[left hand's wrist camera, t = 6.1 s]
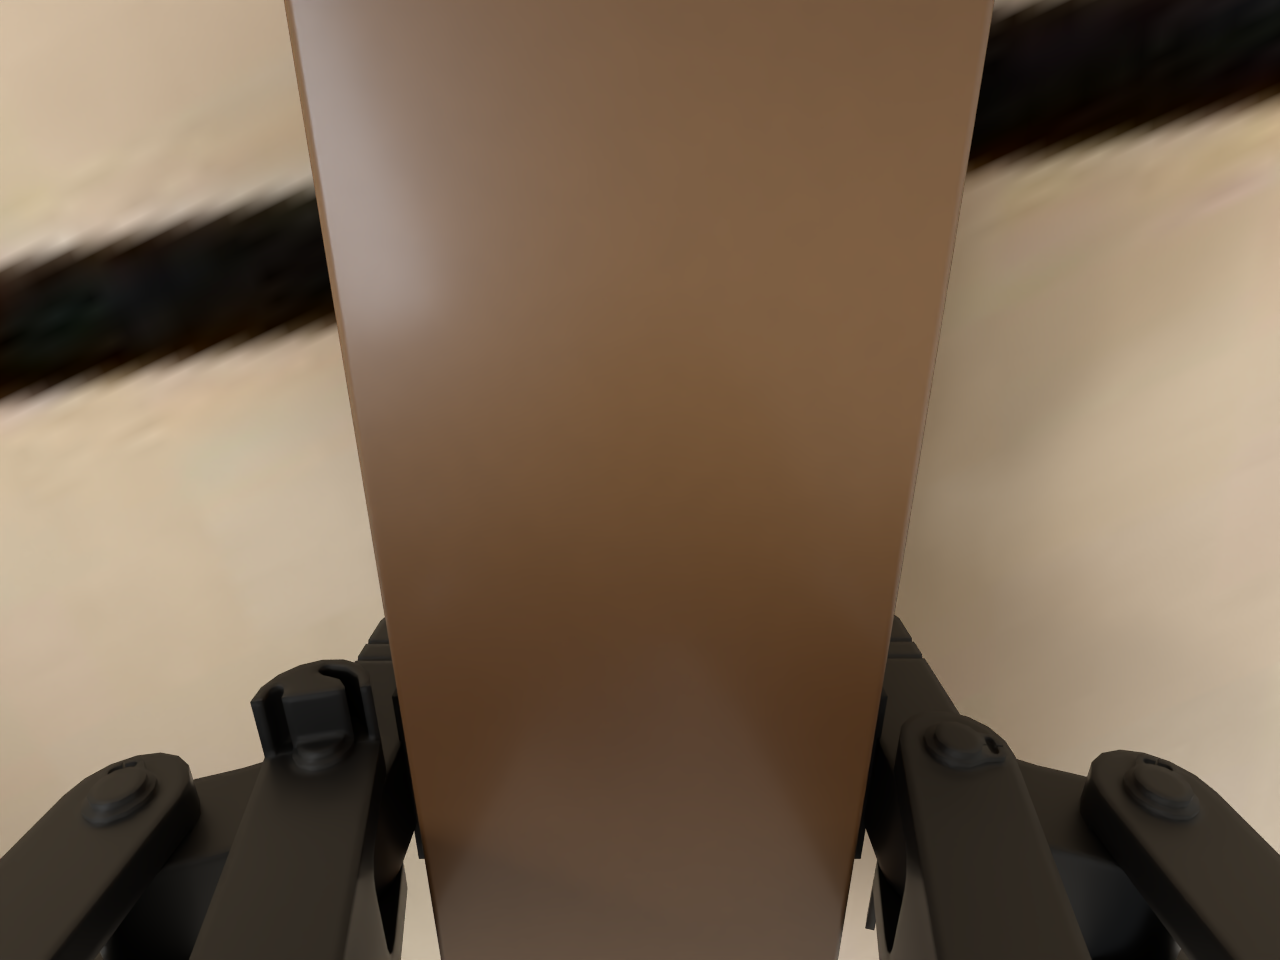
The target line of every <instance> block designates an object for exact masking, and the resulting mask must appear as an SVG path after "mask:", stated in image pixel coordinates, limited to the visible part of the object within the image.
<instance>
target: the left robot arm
mask: <svg viewBox="0 0 1280 960" xmlns="http://www.w3.org/2000/svg"><path fill="white" fill-rule="evenodd" d="M250 703H251V706H252V710H253V714H254V718H255V722H256V725H257V729H258V733H259V737H260V740H261V744H262V748H263V752H264V756H265V758H264V761H263V762H261V763H258V764H255V765H252V766H248V767H245V768H241V769H237V770H233V771H229V772H224V773H220V774H216V775H211V776H207V777H203V778H199V779H194V780H193V777H192V774H191V771H190V768H189V765H188V764H187V763H186V762H185V761H183V760H182V759H181V758H180V757H179V756H176V755H170V754H165V753H154V754H146V755H138V756H134V757H131V758H129V759H126V760H123V761H120V762H117V763H114V764H111V765H109V766H107V767H105V768H103V769H102V770H100V771H98V772H96V773H94V774H92V775H90V776H89V777H87V778H85V779H84V780H82V781H81V782H80V783H79V784H78V785H76V786H75V787H74V788H73V789H71V790H70V791H69V792H68V793H66V794H65V795H64V796H63V797H62V798H61V799H60V800H59V801H58V802H57V803H56V804H55V805H54V806H53V807H52V808H51V809H50V810H49V811H48V812H47V813H46V814H45V815H44V816H43V817H42V818H41V819H40V820H39V821H38V822H37V823H36V824H35V825H34V826H33V827H32V828H31V829H30V830H29V831H28V832H27V833H26V834H25V835H24V836H23V837H22V838H21V839H20V840H19V841H18V842H17V843H16V844H15V845H14V846H13V847H12V848H11V849H10V850H9V851H8V852H7V853H6V854H5V855H4V856H3V857H2V858H1V859H0V960H401V951H402V941H403V930H404V919H405V909H406V898H407V882H406V875H405V869H404V864H403V860H404V857H405V855H406V852H407V849H408V846H409V843H410V841H411V838H412V835H413V832H415V838H416V844H417V850H418V856H419V859H425V858H424V852H423V846H422V840H421V833H420V827H419V821H418V815H417V809H416V803H415V797H414V791H413V785H412V778H411V772H410V766H409V760H408V754H407V748H406V742H405V736H404V730H403V724H402V717H401V711H400V705H399V699H398V693H397V687H396V681H395V675H394V669H393V663H392V656H391V650H390V644H389V638H388V632H387V626H386V620H385V618H383V619H382V620H381V621H380V623H379V624H378V626H377V627H376V629H375V631H374V632H373V634H372V635H371V637H370V639H369V640H368V644H366V645H365V646H364V648H363V650H362V651H361V653H360V654H359V656H358V661H355V662H350V661H347V660H320V661H316V662H312V663H307V664H303V665H299V666H297V667H295V668H293V669H290V670H288V671H286V672H284V673H281V674H279V675H278V676H276V677H275V678H274V679H272V680H271V681H269V682H268V683H267V684H265V685H264V686H263V687H261V688H260V690H259V691H258V692H257V694H256V695H255V697H254V698H253V699H252V701H251V702H250ZM865 829H866V830H867V833H868V836H869V838H870V841H871V844H872V847H873V849H874V852H875V855H876V858H877V864H876V869H875V875H874V880H873V886H872V891H871V897H870V902H869V908H868V914H867V921H866V929H871V930H874V929H875V923H876V928H877V939H878V950H879V960H1280V855H1279V854H1278V853H1277V852H1276V851H1275V850H1274V849H1273V848H1272V847H1271V846H1270V845H1269V844H1268V843H1267V842H1266V841H1265V840H1264V839H1263V838H1262V837H1261V836H1260V835H1259V834H1258V833H1257V832H1256V831H1255V830H1254V829H1253V828H1252V827H1251V826H1250V825H1249V824H1248V823H1247V822H1246V821H1245V820H1244V819H1243V818H1242V817H1241V816H1240V815H1239V814H1238V813H1237V812H1236V811H1235V810H1234V809H1233V808H1232V807H1231V806H1230V805H1229V804H1228V803H1227V802H1226V801H1225V800H1224V799H1223V798H1222V797H1221V796H1220V795H1219V794H1218V793H1217V792H1216V791H1214V790H1213V789H1212V788H1211V787H1209V786H1208V785H1207V784H1206V783H1204V782H1203V781H1202V780H1201V779H1199V778H1198V777H1197V776H1196V775H1194V774H1192V773H1190V772H1188V771H1186V770H1185V769H1183V768H1181V767H1179V766H1177V765H1175V764H1173V763H1171V762H1170V761H1167V760H1164V759H1161V758H1158V757H1155V756H1152V755H1149V754H1146V753H1142V752H1134V751H1125V750H1116V751H1111V752H1105V753H1102V754H1100V755H1099V756H1098V757H1097V758H1096V759H1095V760H1094V761H1093V762H1092V763H1091V766H1090V770H1089V773H1088V776H1087V777H1085V776H1081V775H1076V774H1072V773H1068V772H1063V771H1059V770H1055V769H1051V768H1046V767H1042V766H1038V765H1034V764H1031V763H1028V762H1024V761H1021V760H1018V759H1016V757H1015V755H1014V754H1013V752H1012V751H1011V749H1010V748H1009V746H1008V745H1007V743H1006V741H1005V740H1003V739H1002V738H1001V737H1000V736H999V735H997V734H996V733H995V732H994V731H993V730H991V729H990V728H989V727H987V726H985V725H983V724H981V723H979V722H977V721H975V720H973V719H971V718H969V717H966V716H963V715H960V714H959V712H958V711H957V709H956V707H955V706H954V704H953V703H952V701H951V700H950V698H949V696H948V695H947V693H946V692H945V690H944V688H943V687H942V685H941V684H940V682H939V681H938V679H937V677H936V676H935V674H934V673H933V671H932V669H931V668H930V666H929V665H928V663H927V662H926V660H925V659H922V654H921V652H920V650H919V649H918V647H917V646H916V644H915V643H914V642H912V638H911V636H910V635H909V633H908V632H907V630H906V628H905V627H904V625H903V624H902V622H901V620H900V619H899V618H898V617H897V616H895V615H894V619H893V625H892V631H891V637H890V643H889V649H888V655H887V661H886V668H885V674H884V680H883V686H882V692H881V698H880V704H879V710H878V717H877V723H876V729H875V735H874V741H873V747H872V753H871V759H870V766H869V772H868V778H867V784H866V790H865V796H864V802H863V809H862V815H861V821H860V827H859V833H858V839H857V845H856V851H855V858H854V859H861V853H862V847H863V841H864V835H865Z"/></svg>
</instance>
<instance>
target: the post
mask: <svg viewBox="0 0 1280 960" xmlns="http://www.w3.org/2000/svg"><path fill="white" fill-rule="evenodd" d="M284 3H285V10H286V16H287V22H288V28H289V34H290V40H291V46H292V52H293V58H294V64H295V71H296V77H297V83H298V89H299V95H300V101H301V107H302V113H303V119H304V125H305V132H306V138H307V144H308V150H309V156H310V162H311V168H312V174H313V180H314V186H315V193H316V199H317V205H318V211H319V217H320V223H321V229H322V235H323V241H324V248H325V254H326V260H327V266H328V272H329V278H330V284H331V290H332V296H333V302H334V309H335V315H336V321H337V327H338V333H339V339H340V345H341V351H342V357H343V363H344V370H345V376H346V382H347V388H348V394H349V400H350V406H351V412H352V418H353V425H354V431H355V437H356V443H357V449H358V455H359V461H360V467H361V473H362V479H363V486H364V492H365V498H366V504H367V510H368V516H369V522H370V528H371V534H372V540H373V547H374V553H375V559H376V565H377V571H378V577H379V583H380V589H381V595H382V602H383V608H384V614H385V620H386V626H387V632H388V638H389V644H390V650H391V656H392V663H393V669H394V675H395V681H396V687H397V693H398V699H399V705H400V711H401V717H402V724H403V730H404V736H405V742H406V748H407V754H408V760H409V766H410V772H411V778H412V785H413V791H414V797H415V803H416V809H417V815H418V821H419V827H420V833H421V840H422V846H423V852H424V858H425V864H426V870H427V876H428V882H429V888H430V894H431V901H432V907H433V913H434V919H435V925H436V931H437V937H438V943H439V949H440V955H441V960H838V956H839V949H840V943H841V937H842V931H843V925H844V919H845V913H846V907H847V900H848V894H849V888H850V882H851V876H852V870H853V864H854V858H855V851H856V845H857V839H858V833H859V827H860V821H861V815H862V809H863V802H864V796H865V790H866V784H867V778H868V772H869V766H870V759H871V753H872V747H873V741H874V735H875V729H876V723H877V717H878V710H879V704H880V698H881V692H882V686H883V680H884V674H885V668H886V661H887V655H888V649H889V643H890V637H891V631H892V625H893V619H894V612H895V606H896V600H897V594H898V588H899V582H900V576H901V570H902V563H903V557H904V551H905V545H906V539H907V533H908V527H909V521H910V514H911V508H912V502H913V496H914V490H915V484H916V478H917V471H918V465H919V459H920V453H921V447H922V441H923V435H924V429H925V422H926V416H927V410H928V404H929V398H930V392H931V386H932V380H933V373H934V367H935V361H936V355H937V349H938V343H939V337H940V331H941V324H942V318H943V312H944V306H945V300H946V294H947V288H948V282H949V275H950V269H951V263H952V257H953V251H954V245H955V239H956V233H957V226H958V220H959V214H960V208H961V202H962V196H963V190H964V183H965V177H966V171H967V165H968V159H969V153H970V147H971V141H972V134H973V128H974V122H975V116H976V110H977V104H978V98H979V92H980V85H981V79H982V73H983V67H984V61H985V55H986V49H987V43H988V36H989V30H990V24H991V18H992V12H993V6H994V0H284Z"/></svg>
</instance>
